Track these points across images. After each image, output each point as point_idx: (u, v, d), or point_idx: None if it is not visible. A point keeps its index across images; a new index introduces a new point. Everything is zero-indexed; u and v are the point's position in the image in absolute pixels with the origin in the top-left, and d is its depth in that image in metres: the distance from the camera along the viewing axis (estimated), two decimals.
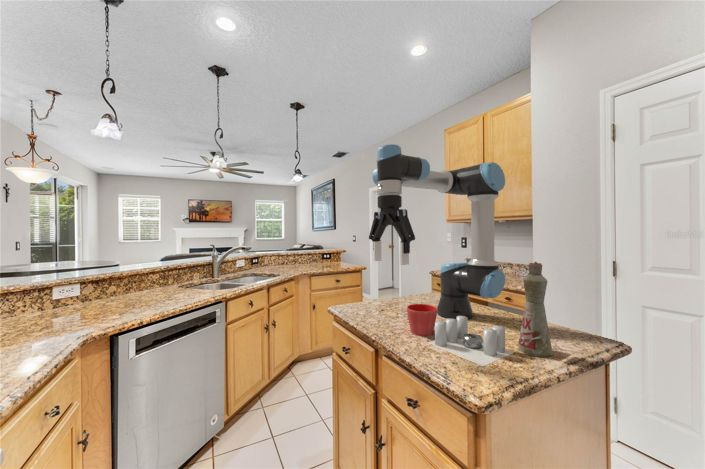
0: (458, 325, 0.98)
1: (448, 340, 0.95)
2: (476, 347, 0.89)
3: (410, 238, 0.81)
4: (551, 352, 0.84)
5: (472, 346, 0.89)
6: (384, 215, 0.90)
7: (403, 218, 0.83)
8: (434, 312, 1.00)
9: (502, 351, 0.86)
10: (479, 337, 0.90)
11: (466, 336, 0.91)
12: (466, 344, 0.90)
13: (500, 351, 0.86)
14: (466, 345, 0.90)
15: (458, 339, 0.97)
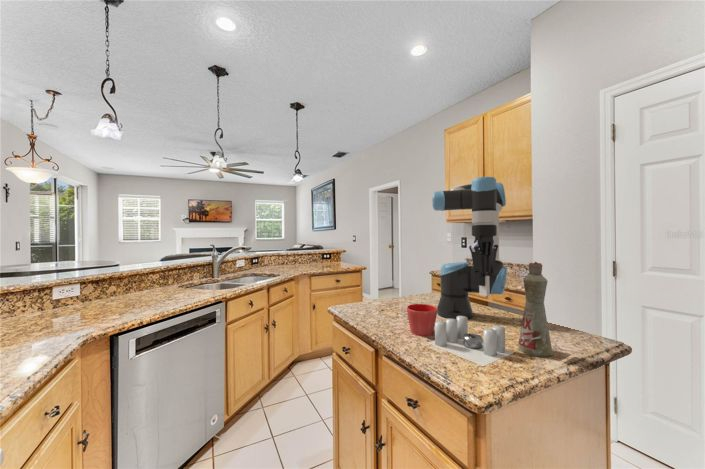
0: (458, 325, 0.98)
1: (448, 340, 0.95)
2: (476, 347, 0.89)
3: (476, 272, 0.93)
4: (551, 352, 0.84)
5: (472, 346, 0.89)
6: None
7: (472, 254, 0.92)
8: (434, 312, 1.00)
9: (502, 351, 0.86)
10: (479, 337, 0.90)
11: (466, 336, 0.91)
12: (466, 344, 0.90)
13: (500, 351, 0.86)
14: (466, 345, 0.90)
15: (458, 339, 0.97)
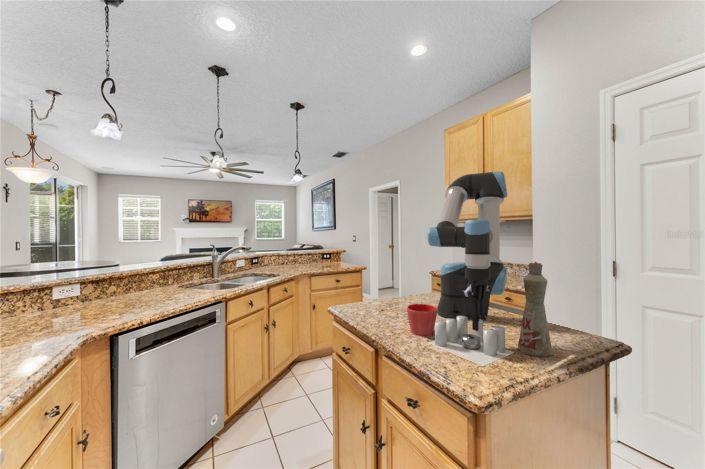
0: (458, 325, 0.98)
1: (448, 340, 0.95)
2: (475, 348, 0.88)
3: (469, 317, 0.91)
4: (551, 352, 0.84)
5: (470, 347, 0.88)
6: None
7: (465, 299, 0.90)
8: (434, 312, 1.00)
9: (502, 351, 0.86)
10: (477, 338, 0.90)
11: (464, 337, 0.91)
12: (464, 345, 0.89)
13: (500, 351, 0.86)
14: (464, 346, 0.89)
15: (458, 339, 0.97)
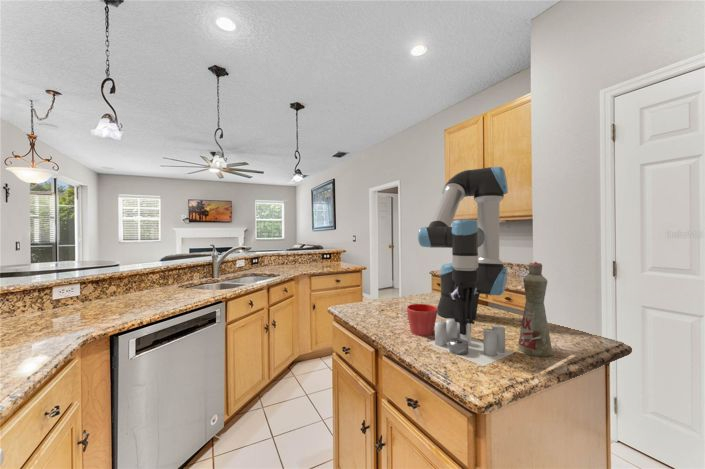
0: (458, 325, 0.98)
1: (448, 340, 0.95)
2: (462, 353, 0.84)
3: (456, 320, 0.88)
4: (551, 352, 0.84)
5: (458, 352, 0.85)
6: None
7: (452, 302, 0.87)
8: (434, 312, 1.00)
9: (502, 351, 0.86)
10: (465, 342, 0.87)
11: (452, 341, 0.87)
12: (452, 350, 0.86)
13: (500, 351, 0.86)
14: (452, 351, 0.86)
15: None
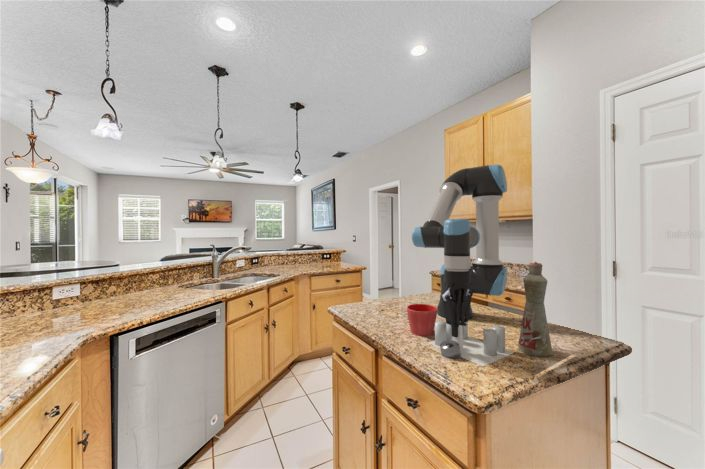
0: None
1: (448, 340, 0.95)
2: (454, 357, 0.82)
3: (448, 322, 0.86)
4: (551, 352, 0.84)
5: (450, 357, 0.82)
6: None
7: (444, 303, 0.85)
8: (434, 312, 1.00)
9: (502, 351, 0.86)
10: (456, 345, 0.84)
11: (443, 346, 0.85)
12: (444, 355, 0.84)
13: (500, 351, 0.86)
14: (444, 356, 0.84)
15: None
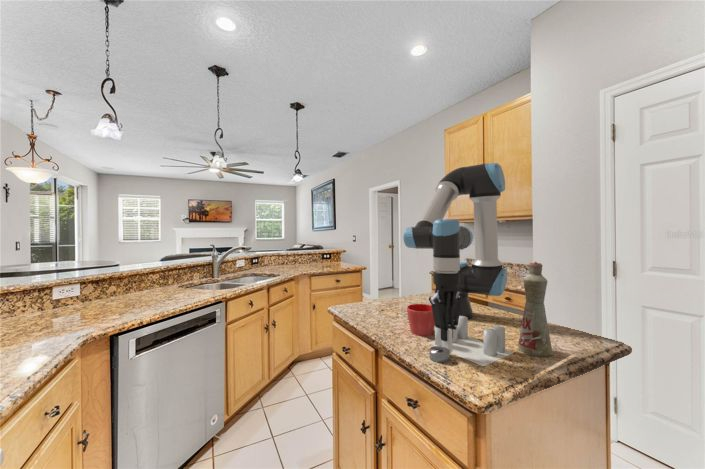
0: (458, 325, 0.98)
1: None
2: (443, 362, 0.80)
3: (436, 326, 0.83)
4: (551, 352, 0.84)
5: (439, 361, 0.80)
6: None
7: (432, 306, 0.82)
8: None
9: (502, 351, 0.86)
10: (446, 350, 0.82)
11: (432, 350, 0.82)
12: (432, 359, 0.81)
13: (500, 351, 0.86)
14: (432, 360, 0.81)
15: (458, 339, 0.97)
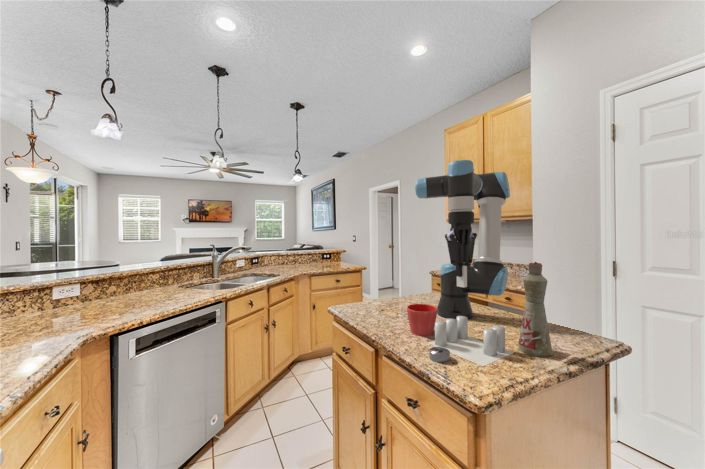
0: (458, 325, 0.98)
1: (448, 340, 0.95)
2: None
3: (452, 262, 0.88)
4: (551, 352, 0.84)
5: (439, 362, 0.80)
6: None
7: (448, 243, 0.87)
8: (434, 312, 1.00)
9: (502, 351, 0.86)
10: (446, 351, 0.82)
11: (433, 350, 0.82)
12: (433, 360, 0.81)
13: (500, 351, 0.86)
14: None
15: (458, 339, 0.97)
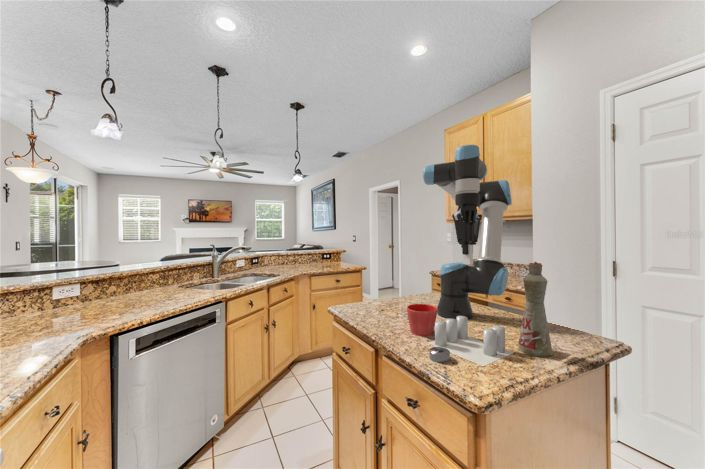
0: (458, 325, 0.98)
1: (448, 340, 0.95)
2: None
3: (459, 241, 0.93)
4: (551, 352, 0.84)
5: (439, 362, 0.80)
6: None
7: (455, 223, 0.92)
8: (434, 312, 1.00)
9: (502, 351, 0.86)
10: (446, 351, 0.82)
11: (433, 350, 0.82)
12: (433, 360, 0.81)
13: (500, 351, 0.86)
14: None
15: (458, 339, 0.97)
